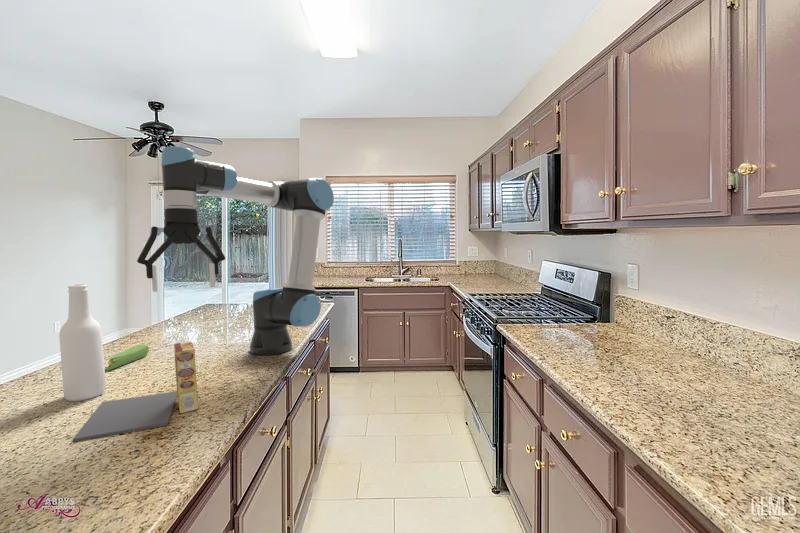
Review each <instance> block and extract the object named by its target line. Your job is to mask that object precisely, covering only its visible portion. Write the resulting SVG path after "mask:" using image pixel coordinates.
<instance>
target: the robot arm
mask: <svg viewBox="0 0 800 533" xmlns="http://www.w3.org/2000/svg"><path fill="white" fill-rule="evenodd" d="M195 154H196V153H195V151H194V150H193V149H191V148H189V147H185V146H184V147H183V146H176V145H174V146H166V147H164V148H163V149H162V151H161V164H160V166H161V170H162V188H163V205H164V207H166V208H165V209H164V227H158V226H151V227H150V235H149V237H148V239H147V240H146V242H145V245H144V247H143V249H142V251H141V252H140V254H139V256H138V257H137V259H136V262H137V263H138V264H140V265H144V266H145V268H146V269H145V270H146V278H147V279H151V289H152V292H153V293H157V292H158V280H157V279H158V278H157V277H158V276H157V266H156V265H153V264H154V263H155V262H156V261H157V260H158V259H159V258H160V257H161V256H162V255H163V253H164V252H165V251H166V250H167V249H168V248H169V247H170V246H171V245H172V244H175V245H181V244H184V245H185V244H186V245H190V244H194V245H195V246H196V247H197V248H198V249H199V250H200V251H201V253H202V254H204V256H205V257H207V258H208V259H209V260H210V261H211V262H208V270H209V287H211V288H216V276H217V275H219V271H220V270H219V263H220V262H223V261H225V260H226V256H225V255H224V253H223V251H222V249H221V248H220V246H219V244H218V242H217V241H216V240H215V238H214V236H213V232H212V228H211V227H210V226H206V227H200V226H199V222H198V221H199V220H198V219H199V218H198V210H197V209H196V208H197V207H198V202H197V201H198V200H197V198H198V197H197V195H203V196H204V195H205V196H210V197H218V198H225V199H232V200H237V201H243V202H244V201H245V202H251V203H260V204H263V205H264V206H266V207H268V208H273V209H280V210H284V211H289V212H292V213H293V215H294V217H296V220H295V227H294V233H293V242H292V247H291V248H292V250H291V257H290V262H289V263H290V264H289V272H288V281H287V282H286V283H285V284H284V285H283V286H282V287H274V288H267V289H260V290H256V291H254V292H253V294H252V308H253V309H252V312H253V328H254V329H253V330H254V331H253V333H252V337H251V340H250V343H249V352H250V353H251V354H253V355H256V356H257V355H258V356H269V355H278V354H283V353H286V352H289V351H291V350H292V349H293V341H292V338H291V336H290V333H289V330H288V328H287V327H288V326H292V327H296V328H299V327H302V328H303V327H304V328H306V327H309V326H311V325H313V324H314V322H316V321H317V319H318V318H319V316H320V313H321V309H322V305H321V304H322V303H321V301H320V298H319V296H317V295H316V293H317V290H316V288H315V287H314V285H313V284H314V274H315V266H316V257H317V248H318V242H319V233H320V226H321V221H322V220H323V219H325V218H326V213H327V212H326V211H328V210H330V209H331V208H332V207H333V205H334V202H335V198H334V191H333V189H332V186H331V185H330V183H329V182H328V181H327V180H326V179H324V178H321V177H309V178H303V179H293V180H285V181H274V180H268V181H266V182H265V181H260V180H254V179H252V178H251V179H250V178H244V177H239V176H238V174H237V171H236V169H235V168H234V167H233V166H231V165H228V164H224V163H221V162H220V163H219V162H214V161H207V160H204V159H197V158H196V155H195ZM161 233H163V234H165V236H166V237H167V238H166V239H165V240H164V242H162V244H161V245H160V246H159V247H157V249H156V250H155V252H154V253H153V254H152V255H151V256H149V258H148V259H146V258H147V256H148V254H149V253H150V251H151V249H152V248H153V245H154V243H155V242H156V239H157V237H158V236H161V235H162V234H161ZM200 233H201V234H202V235H203V236H205V237H206V239H207V241H208V243H209V244H210V246H211V248H212V250H213V252H214V253H215V254H213V253H212V252H211V251H210V249H209V248H207V247H206V246H205V245H204V243H202V241H201V240H200V239H199V238H198V236H199V235H200Z"/></svg>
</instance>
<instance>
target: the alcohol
mask: <svg viewBox="0 0 800 533" xmlns="http://www.w3.org/2000/svg"><path fill="white" fill-rule="evenodd" d="M67 289H68V291H67V293H68V314H67V315H68V317H67V320H66V322H65V323H63V325H62V326H61V328H60V331H59V334H58V335H59V336H58V337H59V338H58V339H59V349H60V350H59V351H60V365H61V374H62V376H61V377H62V387H63V388H62V391H63V398H64V399H66V401H67V402H82V401H85V400H91V399H94V398H97V397H99V396H101V395H103V394H104V392H105V391H106V389H107V388H106V384H107V383H106V373H105V357H104V344H103V343H104V342H103V339H104V338H103V329H102V327H101V323H99V322H98V321H97V320H95V318H94V317H93V316H92V312H91V306H90V300H89V294H88V291H89V289H88V285H87V284H85V283H84V284H82V283H81V284H69V285H68V286H67Z"/></svg>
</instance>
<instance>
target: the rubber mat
mask: <svg viewBox="0 0 800 533" xmlns="http://www.w3.org/2000/svg"><path fill="white" fill-rule="evenodd" d="M177 401H178V395H177V390H176V391H170V392H161V393H155V394H150V395H141V396H135V397H128V398H127V397H126V398H121V399H114V400H108V401H107V400H106V401H102V402H100V405H98V407H97V408H96V409H95V410H94V412H93V413H92V415H90V416H89V418H88V419H87V421H86V422H85V423H84V424H83V426H82V427H81V428H80V429H79V431H78V432H77V433H76V434H75V436H74V437H73V438H72V442H73V441H75V442H78V441H84V440H85V441H86V440H91V438H92V439H97V438H96V437H98V438H103V437H107V436H106V435H109V436H114V434H115V435H120V433H121V434H126V433H130V432H137V431H143V430H149V429H154V428H160V427H165V426H167V427H168V425H169V423H170V419H171V416H172V413H173V411H174V408H175V405H176V402H177ZM102 436H103V437H102Z"/></svg>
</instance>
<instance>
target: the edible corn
mask: <svg viewBox="0 0 800 533" xmlns="http://www.w3.org/2000/svg"><path fill="white" fill-rule="evenodd" d="M149 350H150V348H149V345H148V344H145V343H141V344H137V345H135V346H132V347H129V348H128V349H126V350H124V351H121V352H119V353H117V354H115V355H112V356H110V357H108V358H106V359H105V361H106V360H108V362H107V365H108V366H107V367H106V371H107V370H108V372H109V371H112V370H114V368H115V369H117V368H120V367H122V365H123V366H125V365H127V363H128V364H130V363H132V361H133V362H134V361H138V360H140V359H143V358H145V357H146V356H147V355H148V354H149ZM144 356H145V357H144ZM142 357H143V358H142ZM137 359H138V360H137Z"/></svg>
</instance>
